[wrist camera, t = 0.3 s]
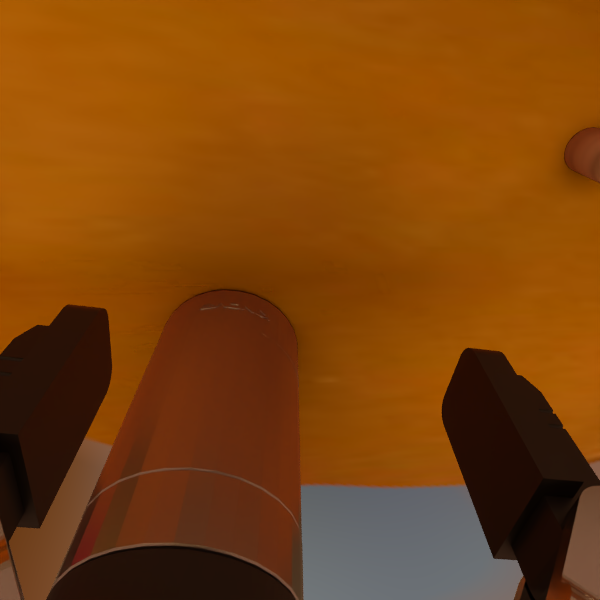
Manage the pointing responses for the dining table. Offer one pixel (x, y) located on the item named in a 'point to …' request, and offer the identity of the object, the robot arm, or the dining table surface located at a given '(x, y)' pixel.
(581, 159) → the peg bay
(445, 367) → the dining table surface
